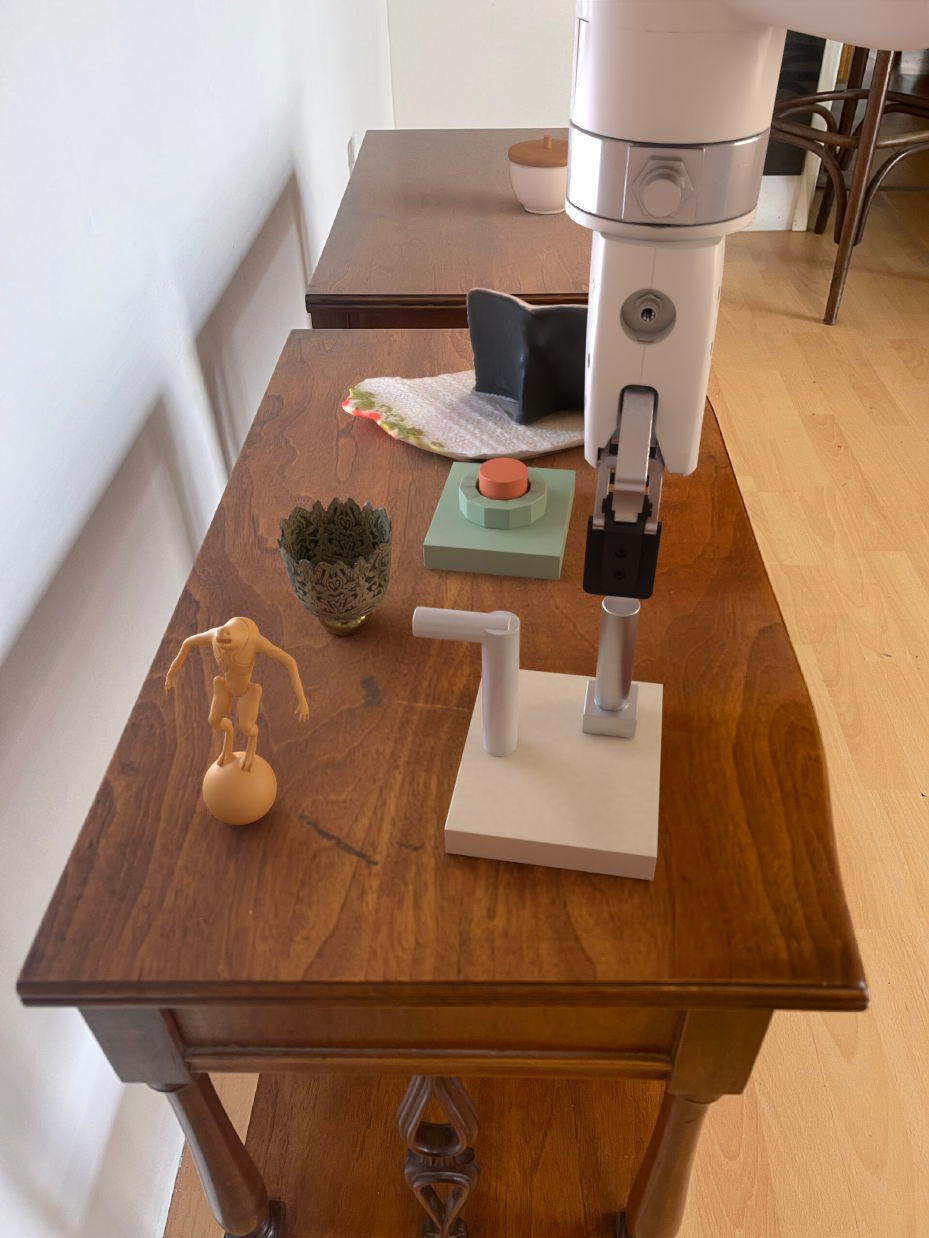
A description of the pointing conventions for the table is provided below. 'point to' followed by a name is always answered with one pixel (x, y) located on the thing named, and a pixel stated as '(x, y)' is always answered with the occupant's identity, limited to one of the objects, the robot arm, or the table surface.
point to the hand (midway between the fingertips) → (622, 533)
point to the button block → (501, 525)
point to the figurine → (239, 779)
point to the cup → (338, 561)
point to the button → (503, 479)
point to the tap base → (547, 763)
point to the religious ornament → (493, 386)
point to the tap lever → (614, 672)
